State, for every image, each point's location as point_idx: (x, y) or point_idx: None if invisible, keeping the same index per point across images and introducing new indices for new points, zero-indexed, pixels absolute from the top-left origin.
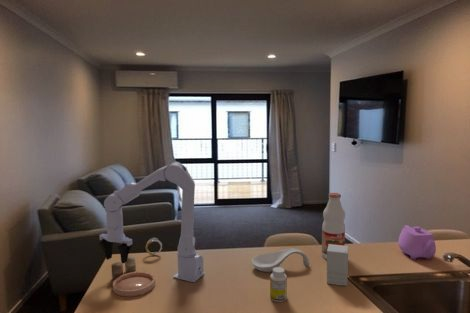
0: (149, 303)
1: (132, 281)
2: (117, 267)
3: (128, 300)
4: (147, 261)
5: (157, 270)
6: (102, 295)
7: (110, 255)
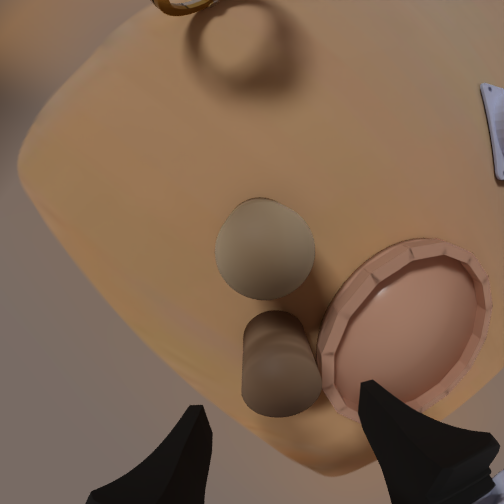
0: (494, 359)
1: (391, 332)
2: (311, 400)
3: None
4: (245, 73)
5: (400, 142)
6: (335, 436)
7: (203, 430)
